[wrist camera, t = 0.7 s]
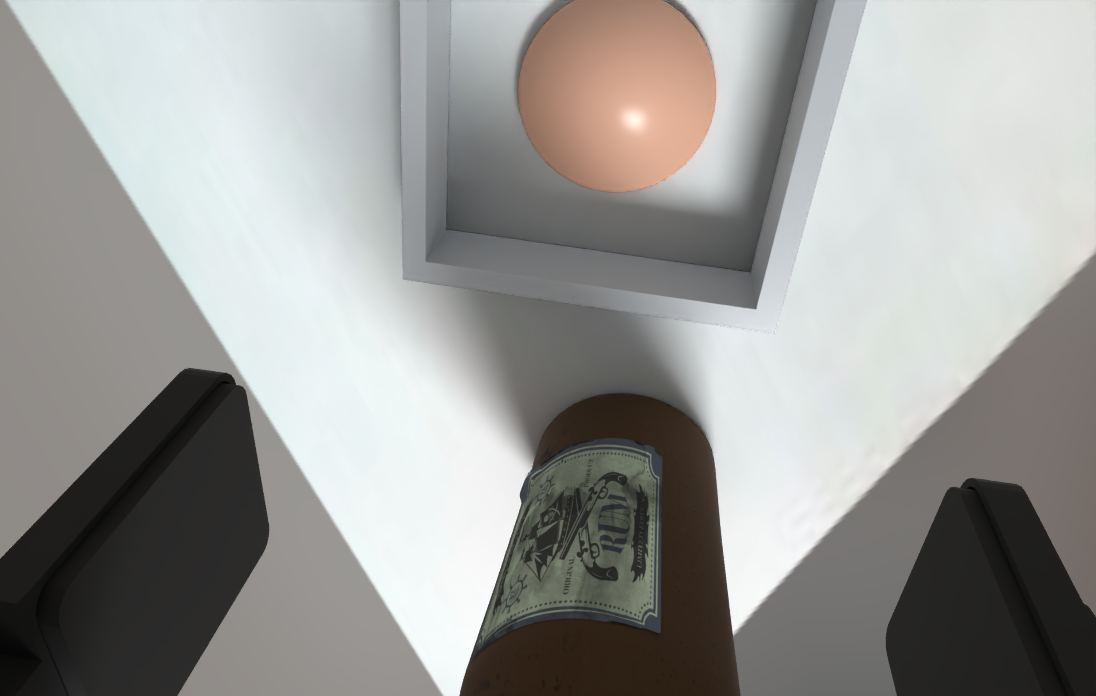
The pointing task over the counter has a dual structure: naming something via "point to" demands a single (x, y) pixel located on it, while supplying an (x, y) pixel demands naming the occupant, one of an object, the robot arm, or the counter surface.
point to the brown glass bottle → (612, 564)
